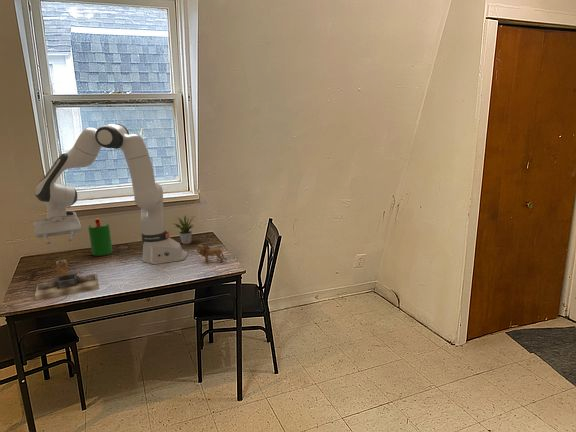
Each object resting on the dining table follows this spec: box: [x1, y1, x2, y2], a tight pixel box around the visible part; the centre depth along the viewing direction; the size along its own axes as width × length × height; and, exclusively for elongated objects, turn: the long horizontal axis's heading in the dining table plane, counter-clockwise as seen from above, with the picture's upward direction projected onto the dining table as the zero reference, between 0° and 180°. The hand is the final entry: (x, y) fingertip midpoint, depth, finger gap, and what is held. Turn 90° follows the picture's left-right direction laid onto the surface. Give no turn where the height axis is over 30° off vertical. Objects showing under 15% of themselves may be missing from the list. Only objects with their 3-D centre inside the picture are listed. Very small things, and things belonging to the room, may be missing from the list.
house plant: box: [172, 214, 196, 245], centre depth 245 cm, size 14×14×16 cm
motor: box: [87, 217, 113, 257], centre depth 229 cm, size 10×9×20 cm
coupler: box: [55, 259, 69, 277], centre depth 197 cm, size 4×4×8 cm
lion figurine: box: [196, 244, 228, 263], centre depth 213 cm, size 15×5×9 cm, turn 92°
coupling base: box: [34, 272, 100, 301], centre depth 185 cm, size 24×14×5 cm, turn 116°
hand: (59, 241), depth 205 cm, fingers open, 8 cm apart
